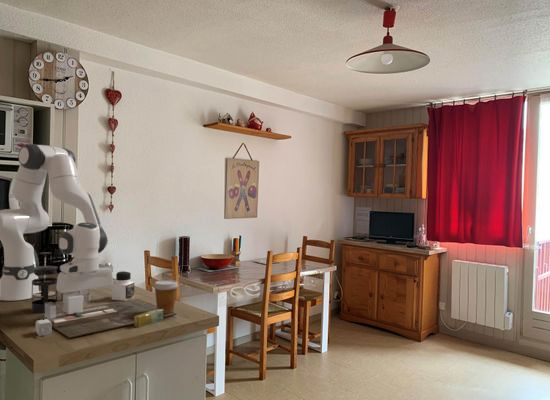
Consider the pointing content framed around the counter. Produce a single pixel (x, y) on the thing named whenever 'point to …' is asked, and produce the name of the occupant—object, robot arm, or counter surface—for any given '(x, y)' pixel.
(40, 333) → the usb wall charger
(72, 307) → the block
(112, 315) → the gauge board
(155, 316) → the medication box
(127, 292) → the medicine bottle
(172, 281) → the disposable coffee cup
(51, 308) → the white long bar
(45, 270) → the french press
